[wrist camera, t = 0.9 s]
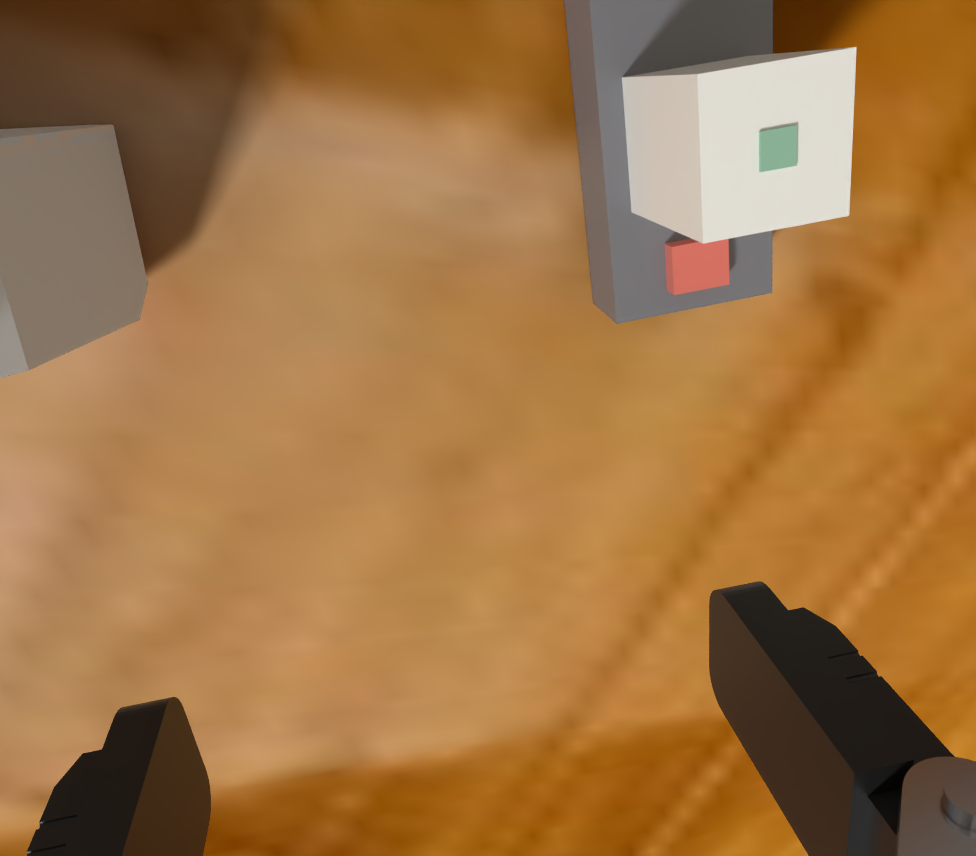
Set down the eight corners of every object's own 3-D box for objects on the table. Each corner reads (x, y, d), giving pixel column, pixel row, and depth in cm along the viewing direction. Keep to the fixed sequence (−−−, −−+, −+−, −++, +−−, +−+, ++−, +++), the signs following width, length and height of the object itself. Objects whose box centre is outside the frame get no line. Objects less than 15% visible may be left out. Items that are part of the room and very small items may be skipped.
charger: (607, 78, 31) (698, 74, 23) (727, 57, 31) (858, 46, 23) (617, 206, 33) (704, 244, 25) (729, 185, 33) (850, 215, 25)
